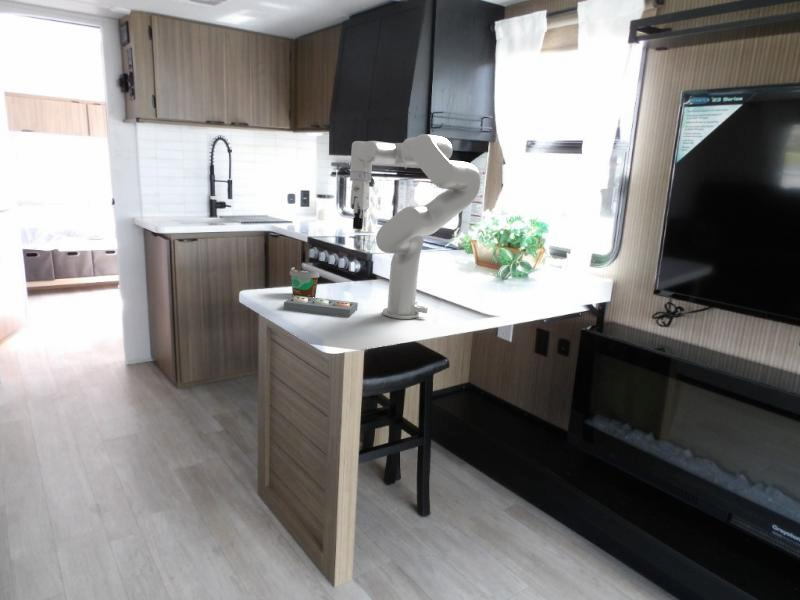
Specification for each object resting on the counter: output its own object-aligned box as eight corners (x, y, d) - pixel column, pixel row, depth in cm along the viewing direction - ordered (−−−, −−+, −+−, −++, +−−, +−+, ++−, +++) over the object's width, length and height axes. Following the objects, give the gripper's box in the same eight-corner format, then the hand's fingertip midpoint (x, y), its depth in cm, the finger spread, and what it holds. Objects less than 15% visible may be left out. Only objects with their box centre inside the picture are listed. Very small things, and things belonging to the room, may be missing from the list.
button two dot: (309, 306, 198) (310, 297, 197) (305, 309, 193) (305, 300, 192) (296, 304, 198) (296, 295, 198) (291, 307, 194) (291, 298, 193)
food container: (282, 295, 212) (282, 268, 209) (292, 292, 217) (293, 267, 215) (308, 300, 206) (309, 273, 204) (318, 297, 211) (319, 271, 209)
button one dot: (330, 308, 197) (330, 299, 196) (326, 311, 192) (326, 302, 191) (316, 306, 197) (316, 298, 197) (312, 310, 193) (312, 301, 192)
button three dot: (351, 310, 196) (351, 302, 195) (347, 314, 191) (347, 305, 190) (337, 309, 196) (337, 300, 196) (333, 312, 191) (333, 303, 191)
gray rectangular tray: (357, 309, 198) (357, 302, 198) (349, 317, 188) (349, 309, 187) (294, 302, 202) (295, 295, 201) (283, 309, 191) (284, 302, 190)
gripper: (366, 178, 193) (362, 231, 197) (375, 178, 207) (372, 228, 211) (344, 176, 194) (342, 229, 198) (355, 176, 208) (352, 226, 212)
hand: (357, 228), depth 204 cm, fingers closed
